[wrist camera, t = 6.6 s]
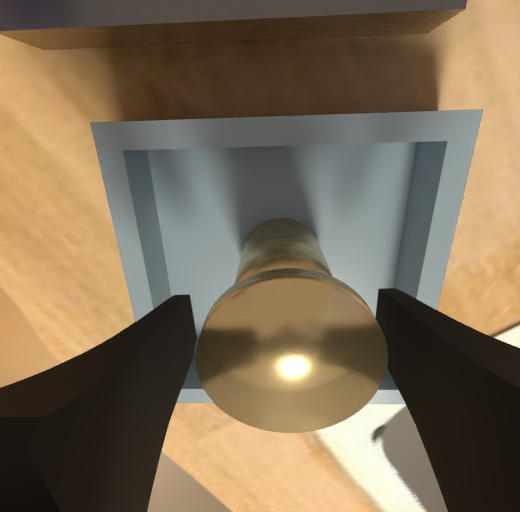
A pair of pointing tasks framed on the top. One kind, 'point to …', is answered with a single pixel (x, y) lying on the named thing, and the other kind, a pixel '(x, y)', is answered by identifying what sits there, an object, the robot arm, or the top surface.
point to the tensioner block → (212, 20)
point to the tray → (286, 202)
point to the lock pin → (289, 337)
